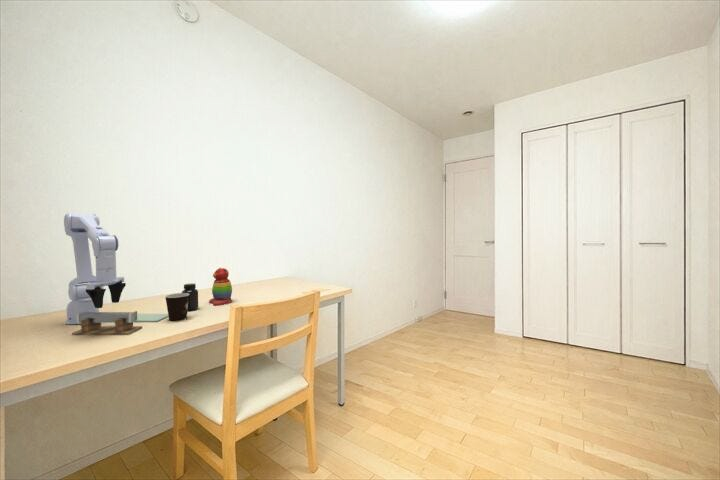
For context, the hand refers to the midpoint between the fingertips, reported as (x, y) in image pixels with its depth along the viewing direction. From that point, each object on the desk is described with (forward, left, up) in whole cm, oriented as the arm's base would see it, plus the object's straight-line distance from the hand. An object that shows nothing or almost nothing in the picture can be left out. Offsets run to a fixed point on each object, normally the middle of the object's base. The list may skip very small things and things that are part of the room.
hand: (107, 305), depth 112 cm
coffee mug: (+17, +17, -10) cm, 26 cm away
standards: (0, 0, -10) cm, 10 cm away
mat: (0, +16, -10) cm, 19 cm away
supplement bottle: (+14, +30, -10) cm, 35 cm away
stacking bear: (+23, +43, -10) cm, 50 cm away
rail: (0, 0, -6) cm, 6 cm away
